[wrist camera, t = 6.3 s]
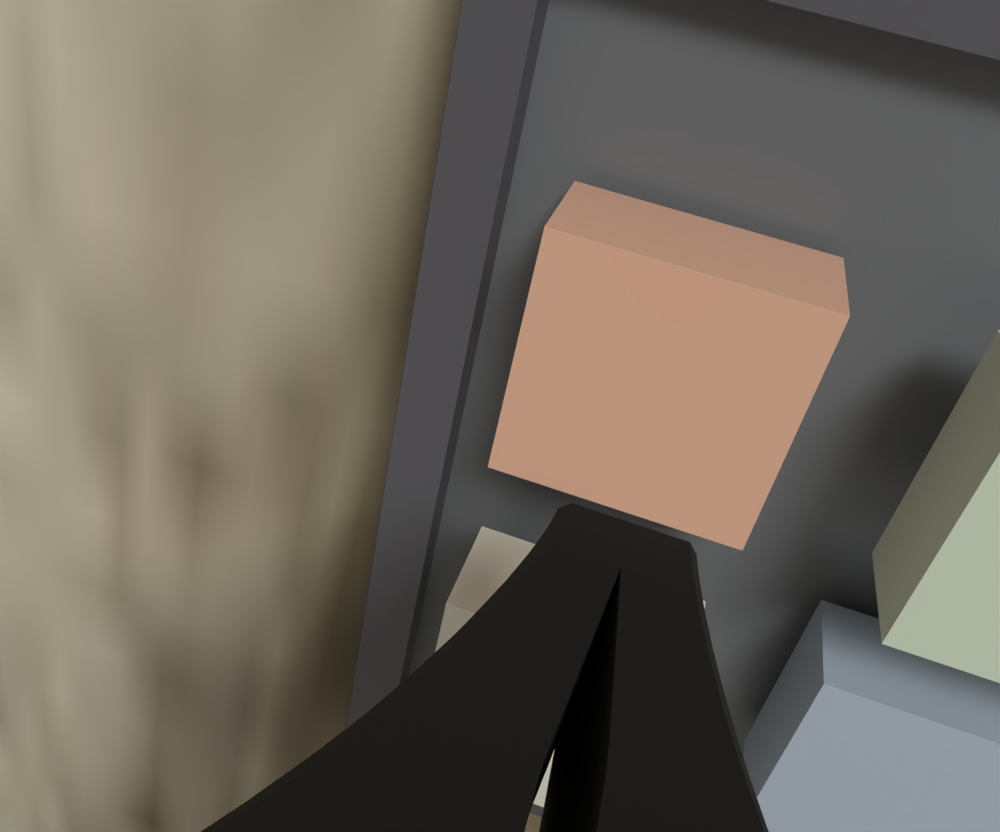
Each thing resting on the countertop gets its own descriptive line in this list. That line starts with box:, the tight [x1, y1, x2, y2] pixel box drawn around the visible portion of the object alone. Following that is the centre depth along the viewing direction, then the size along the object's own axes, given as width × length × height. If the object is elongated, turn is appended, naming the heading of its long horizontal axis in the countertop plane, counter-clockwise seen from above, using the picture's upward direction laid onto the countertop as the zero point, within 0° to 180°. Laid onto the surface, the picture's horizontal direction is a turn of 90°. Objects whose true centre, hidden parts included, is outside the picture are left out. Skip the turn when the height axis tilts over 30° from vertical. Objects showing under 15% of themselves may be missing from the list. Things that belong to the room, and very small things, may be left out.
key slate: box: [743, 600, 1000, 832], centre depth 16 cm, size 4×4×2 cm
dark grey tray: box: [346, 0, 1000, 816], centre depth 16 cm, size 14×18×2 cm
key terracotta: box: [488, 181, 850, 551], centre depth 14 cm, size 4×4×2 cm
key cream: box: [435, 526, 706, 807], centre depth 16 cm, size 4×4×2 cm
